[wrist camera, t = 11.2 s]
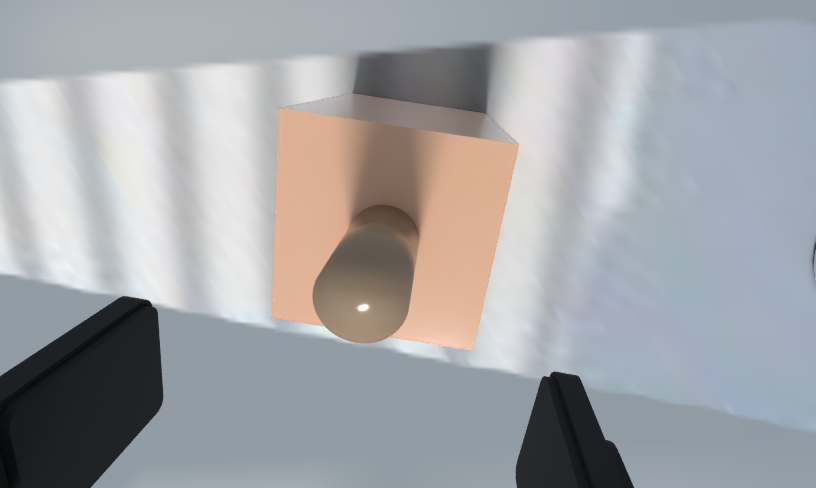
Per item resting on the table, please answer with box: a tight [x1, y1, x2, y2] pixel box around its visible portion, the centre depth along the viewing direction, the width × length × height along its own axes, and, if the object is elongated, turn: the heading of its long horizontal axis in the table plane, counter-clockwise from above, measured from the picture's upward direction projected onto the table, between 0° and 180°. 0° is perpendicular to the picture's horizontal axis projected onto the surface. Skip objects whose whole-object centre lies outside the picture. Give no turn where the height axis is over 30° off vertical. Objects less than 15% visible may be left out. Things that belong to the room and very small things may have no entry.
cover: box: [271, 93, 519, 350], centre depth 25 cm, size 10×10×22 cm
